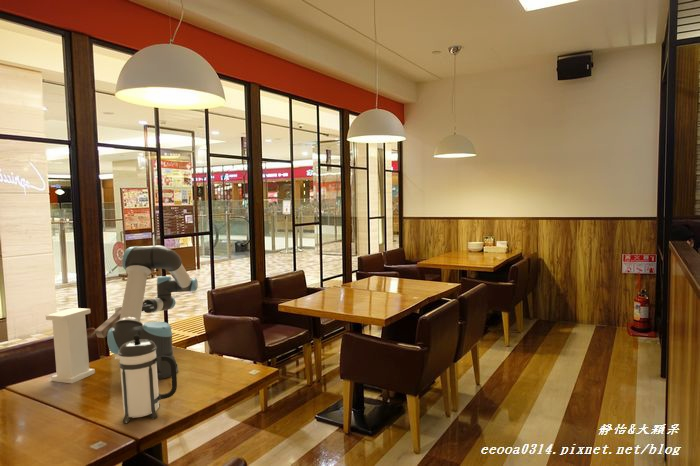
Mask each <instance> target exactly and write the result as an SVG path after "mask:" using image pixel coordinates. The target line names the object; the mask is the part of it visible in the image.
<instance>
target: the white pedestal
mask: <svg viewBox="0 0 700 466" xmlns="http://www.w3.org/2000/svg"><path fill="white" fill-rule="evenodd" d="M91 312H92V311H91V308H85V307H84V308H81V307H73V308H72V307H71V308H68V309H64V310H61V311H57V312H53V313H50V314H46V315H45V320H46V321H51V322H52V331H53V332H52V333H53V334H52V335H53V345H54V356H55V357H54V358H55V370H56V374H54V375H52V376H50V377H51V378H50V379H51V382H59V383H66V384H75V383H76V382H79V381H81V380H83V379H85V378H87V377H89V376H90V377H91V376H92V375H94V374H96V370H95V368H90V362H89V361H90V359H89V348H88V334H87V321H86V315H89V314H91Z"/></svg>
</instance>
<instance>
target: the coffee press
mask: <svg viewBox="0 0 700 466" xmlns="http://www.w3.org/2000/svg"><path fill="white" fill-rule="evenodd" d="M133 339H134V340H133V341H129V342H127V343H125V344H123V345H122V346H121V347H120V350H119V351H118V354H115V357H114V360H119V361H118V365H119V369H120V381H121V382H120V384H121V396H122V409H123V414H124V417H123V419H122V423H123V424H128V423H129V422H130V420H131V419H134V418H142V417H146V416H150V417H151V419H152V420H155V419H157V418H158V414H157V410H158V409H159V408H160V406H161V404H160V400H165V399H169V398H172V396H173V397H174V395H175V394H176V392H177V388H178V377H177V373H176V365H175V362H174V360H173V359H172V358H171V357H169V356H159V357H157V355H156V349H157V346H156V345H155V343H154V342H153V341H151V340H148V339H140V336H139V335H135V336H134V338H133ZM157 361H167V362H168V363H169V364H170V366H171V376H170V377H171V389H170V391H168V392H166V393H160V391H159V379H158V377H157Z"/></svg>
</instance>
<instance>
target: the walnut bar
mask: <svg viewBox="0 0 700 466" xmlns="http://www.w3.org/2000/svg"><path fill="white" fill-rule="evenodd" d="M120 307H121V308H120V309H119V310H118V311H117V312H115V311H114V313H113V314H111V316H109V317H108V318H107V319H106V320H105V321H104V322H103V323H102V324H100V325H99V326H98V327H97V328H95V330H94V332H95V333H94V334H95V335H96V337H97V338H103V339H105V338H107V334H108V331H109V329H110V328H114V327H115V323H116V322H117V321H118V320H120V315H121V310H122V306H120Z"/></svg>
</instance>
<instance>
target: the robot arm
mask: <svg viewBox="0 0 700 466" xmlns="http://www.w3.org/2000/svg"><path fill="white" fill-rule="evenodd" d="M122 268H123V269H124V270H125V273H126V274H127V278H126V284H125V288H124V293H123V294H124V295H123V299H122V305H121V306H116V307H114V313H115V312H117V311H118V310H119V309H120V308H121V307H122V310H121V315H120V320H118V321H117V322H116V323H115V327H114V328H110V329H109V331H108V334H107V336H106V338H107V345H108V349H109V351H110V353H112V354H114V355H117V354H118V351H119V350H120V347H121V346H122V345H123V344H125V343H127V342H129V341H133V340H134V339H133V338H134V336H135V335H139V336H140V339H148V340H151V341H153V342H154V343H155V345H156V346H157V349H156V355H157V357H159V356H169V357H171V358H172V359H173V360H174V362H175V365H176V374H177V373H178V372H179V366H178V363H177V361H176V358H175V356H174V347H173V332H172V326H171V324H170V323H168V322H166V321H157V320H156V321H148V322H145V323H143V322H142V321H141V317H142V312H144V313H146V314H150V313H157V312H163V311H169V310H172V309H173V308H174V307H175V305H176V300H175V298H174V296H172V293H182V292H183V293H185V292H186V293H189V292H190V293H191V292H196V291H197V290H198V287H199V286H198V284H199V283H198V280H197V279H198V278H194V277H190V275H189V273H188V272H187V270H186V268H185V267H184V265H183V260H182V257H181V256H180V254H178V253H177V252H176V251H175V250H173V249H171V248H169V247H168V246H164V245H145V246H144V245H141V246H139V245H136V246H130V247H129V246H128V248H126V249H125V251H124V253H123V254H122ZM158 269H161V270H162V269H163V270H165V271H167V272H168V273H169V274H170V275H171V276H170V275H166V276H164V275H163V276H158V277H157V278H156V293H157V294H156V297H155V298H147V299H145V300H144V298H145V292H146V285H147V282H148V281H147V280H148V277H149V276H150V275H151V274H152V270H158ZM157 377H158V380H163V379H166V378H170V377H172V376H171V366H170V364H169V363H168V362H167V361H157Z"/></svg>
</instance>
